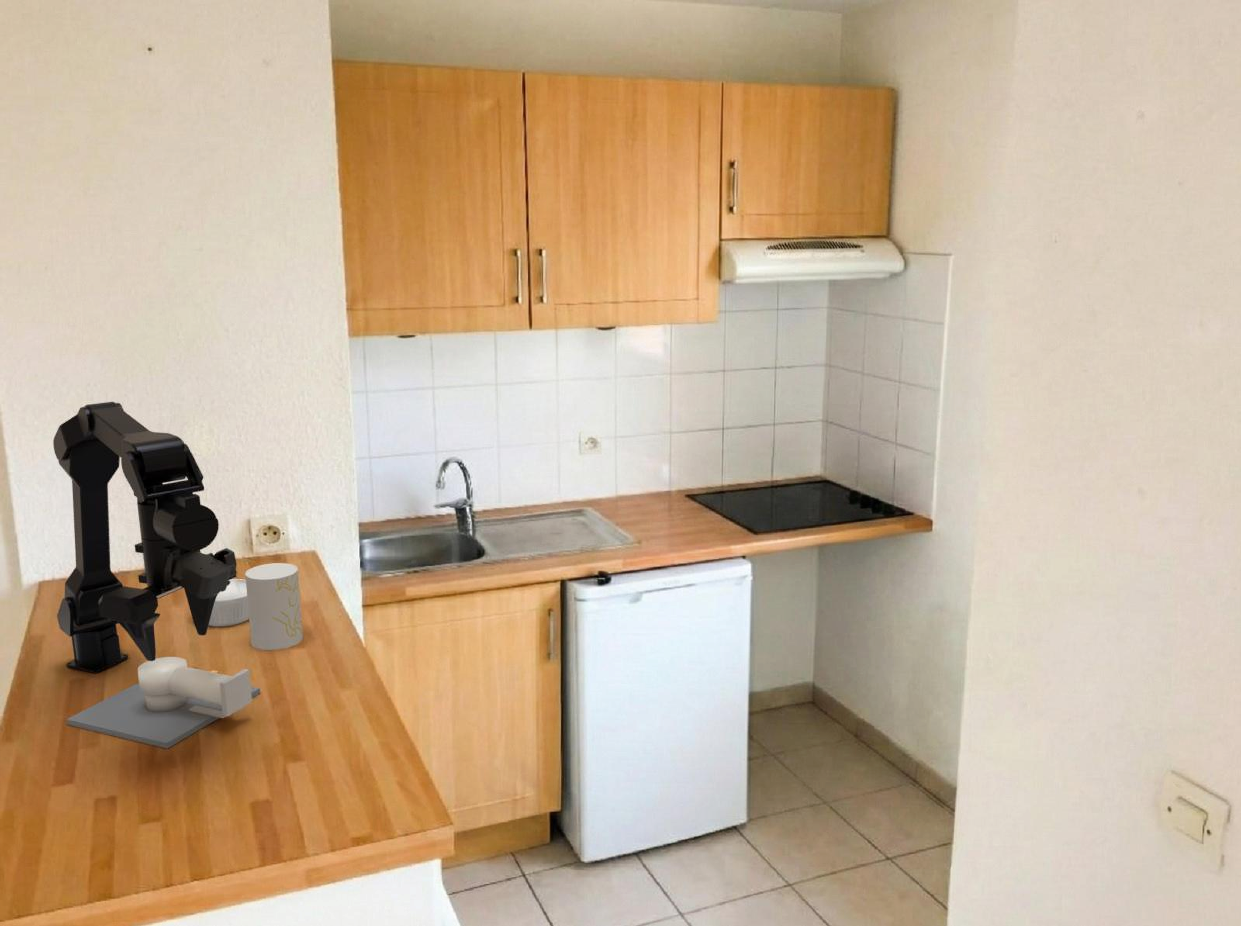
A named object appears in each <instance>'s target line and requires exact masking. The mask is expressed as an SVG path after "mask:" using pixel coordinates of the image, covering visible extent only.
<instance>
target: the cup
mask: <svg viewBox="0 0 1241 926" xmlns="http://www.w3.org/2000/svg"><path fill="white" fill-rule="evenodd" d="M244 574H245V575H244V576H245V580H246V588H247V599H248V611H249V620H248V621H249V622H248V623H249V630H250V631H249V632H250V633H249V635H250V643H251V646H252V647H253V648H255V649H257V650H261V651H277V650H284V649H288V648H292V647H294V646H296V645H298V644H299V643H301V642H302V641H303V638H304V636H303V622H302V621H303V620H302V609H301V608H302V607H301V606H302V605H301V595H300V594H301V593H300V580H299V579H300V578H299V569H298V566H297V565H294V564H292V563H285V562H276V563H274V562H273V563H265V564H261V565H260V564H259V565H256V566H254V567H252V568H249V569H248V570H246V571H245V573H244Z"/></svg>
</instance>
